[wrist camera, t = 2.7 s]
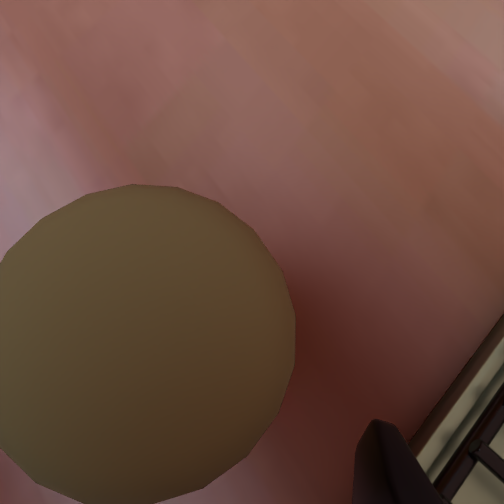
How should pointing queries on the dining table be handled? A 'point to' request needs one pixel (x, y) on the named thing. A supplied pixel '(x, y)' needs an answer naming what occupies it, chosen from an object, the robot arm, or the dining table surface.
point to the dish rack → (468, 431)
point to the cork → (140, 345)
